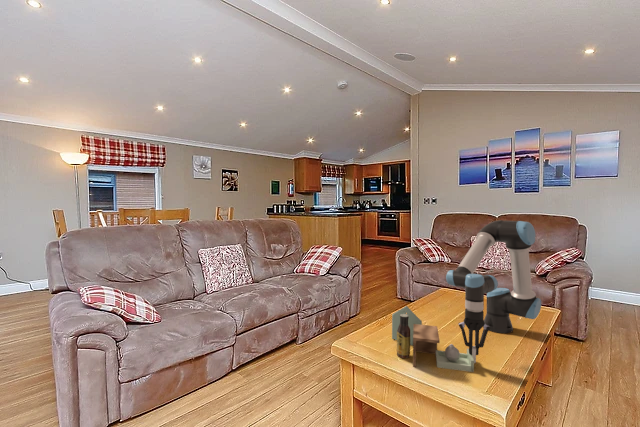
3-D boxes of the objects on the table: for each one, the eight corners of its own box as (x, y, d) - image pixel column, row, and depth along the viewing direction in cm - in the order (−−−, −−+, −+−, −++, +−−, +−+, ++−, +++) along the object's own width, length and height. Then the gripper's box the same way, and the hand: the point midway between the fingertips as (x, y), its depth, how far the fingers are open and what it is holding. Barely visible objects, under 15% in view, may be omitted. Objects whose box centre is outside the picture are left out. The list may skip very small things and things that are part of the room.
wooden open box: (436, 353, 160) (437, 326, 160) (439, 370, 144) (439, 340, 143) (413, 350, 163) (413, 323, 163) (412, 366, 147) (413, 337, 146)
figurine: (462, 360, 151) (462, 342, 150) (456, 365, 146) (457, 347, 145) (448, 355, 155) (448, 338, 155) (442, 360, 150) (442, 343, 150)
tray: (469, 359, 154) (469, 348, 153) (473, 372, 142) (474, 360, 142) (435, 355, 158) (435, 344, 158) (436, 367, 146) (437, 356, 146)
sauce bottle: (394, 353, 160) (395, 312, 159) (407, 352, 161) (407, 312, 160) (399, 359, 154) (399, 317, 153) (412, 359, 154) (412, 317, 153)
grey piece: (427, 343, 171) (427, 305, 171) (421, 348, 165) (421, 309, 165) (398, 335, 182) (398, 299, 181) (391, 339, 176) (392, 303, 175)
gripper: (488, 308, 148) (487, 359, 149) (457, 305, 152) (456, 355, 153) (492, 313, 141) (491, 367, 142) (459, 310, 145) (458, 363, 146)
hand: (473, 361), depth 148 cm, fingers closed
